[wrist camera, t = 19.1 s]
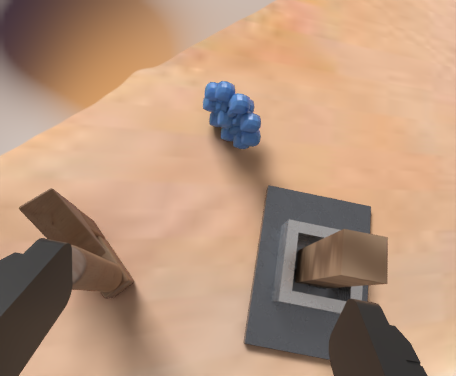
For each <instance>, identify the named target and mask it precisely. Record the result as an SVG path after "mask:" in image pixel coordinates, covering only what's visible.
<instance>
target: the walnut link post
mask: <svg viewBox="0 0 456 376" xmlns="http://www.w3.org/2000/svg"><path fill="white" fill-rule="evenodd" d="M387 258H388V237H384V236H378V235H373V234H368V233H363V232H358V231H353V230H348V229H342V230H340V231H338V232H336V233H334V234H332V235H330V236H328V237H325V238H323V239H321V240H319V241H317V242H315V243H313V244H311V245H308V246H306V247H304V248H302V249H300V250H299V251H298V261H297V271H296V281H295V283H301V284H306V285H311V286H317V287H322V288H339V287H352V286H364V285H377V284H387Z"/></svg>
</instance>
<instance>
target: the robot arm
mask: <svg viewBox="0 0 456 376" xmlns="http://www.w3.org/2000/svg"><path fill="white" fill-rule="evenodd" d="M72 285H73V279H72V246H71V244H69V243H65V242H60V241H55V240H50V239H45V238H41V239H39V240H37V241H36V242H35V243H34V244H33V245H32V246H31V247H30V248H29V249H28V250H27V251H26V252H25V253H24V254H20V253H13V254H11V255H9V256H7V257H5V258H3V259H1V260H0V376H19V374H20V373H21V371H22V370H23V368H24V367H25V366H26V364H27V363H28V361H29V360H30V358H31V357H32V355H33V354H34V352H35V351H36V349H37V348H38V346H39V345H40V343H41V342H42V340H43V339H44V337H45V336H46V335H47V333H48V332H49V330H50V329H51V327H52V326H53V324H54V323H55V321H56V320H57V318H58V317H59V315H60V314H61V312H62V311H63V309H64V308H65V306H66V305H67V303H68V300H69V298H70V295H71V291H72ZM329 358H330V362H331V366H332V370H333V374H334V376H427V374H426V372H425V370H424V368H423V366H420V361H419V359H418V357H417V355H416V353H415V351H414V349H413V347H412V345H411V343H410V342H409V341H408V340H407V339H406V338H405V337H404V336H403V334H402V333H401V332H400V331H399V330H398V329H397V328H396V327H395V326H392V325H389V323H388V321H387V319H386V317H385V315H384V313H383V311H382V309H381V307H380V306H379V305H378V304H376V303H372V302H367V301H362V300H357V299H349V300H348V301H347V302H346V304H345V306H344V308H343V310H342V312H341V314H340V316H339V318H338V320H337V322H336V324H335V327H334V329H333V331H332V333H331V335H330V339H329Z"/></svg>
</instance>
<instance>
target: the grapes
mask: <svg viewBox="0 0 456 376" xmlns="http://www.w3.org/2000/svg"><path fill="white" fill-rule="evenodd" d="M203 109H205V110H207V111H210V112H211V114H210V119H209V123H210V125H212V126H215V127H222V129H221V139H223V140H226V141H233V146H234V147H236V148H239V149H246V148H249V146H251V147H253V146H256V145H258V144H259V142H260V138H261V135H260V131H259V128H260V126H261V119H260V116H258V115H257V114H254V113H253V111H254V101H252V100H250V98H249V97H248V96H246V95H243V94H235V86H234V85H233V84H231V83H229V82H226V81H221V82H219V83H216V82H210V83H209V84H207V86H206V88H205V98H204V100H203Z"/></svg>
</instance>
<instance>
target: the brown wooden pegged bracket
mask: <svg viewBox="0 0 456 376" xmlns="http://www.w3.org/2000/svg"><path fill="white" fill-rule="evenodd" d="M19 209H20V211H21V212H22V213H23V214H24V215H25V216H26V217H27V218H28V219H29V220H30V221H31V222H32V223H33V224H34V225H35V226H36V227H37V228H38V229H39V230H40V232H41V233H42V234H43V235H44V236H45V237H46V238H47V239H50V240H55V241H60V242H65V243H69V244H71V246H72V279H73V285H72V289H73V290H86V291H99V292H101V294H102V295H103V297H104V298H113V297H115V296H116V295H117V294H119V293H120V292H121V291H123V290H124V289H126V288H127V287H128V286H130V285H131V284H132V283H133V282H134V280H133V279H132V277H131V276H130V274H129V273H128V271H127V270H126V268H125V267H124V265H123V264H122V262H121V261H120V259H119V258H118V256H117V255H116V253H115V252H114V250H113V249H112V247H111V246H110V244H109V243H108V242H107V241H106V240H105V237H104V236H103V234H102V233H101V231H100V230H99V228H98V227H97V225H96V224H95V222H94V221H93V220H92V219H91V218H89V217H88V216H87V215H85V214H84V213H83V212H81V211H80V210H79V209H77V207H76V206H74V205H73V204H72V203H71V202H69V201H68V200H67V199H65V198H64V197H63V196H61V195H60V194H59V193H57V192H56V191H55V190H54V189H52V188H51V189H49V190H47V191H45V192H44V193H42V194H40V195H39V196H37V197H35V198H34V199H32V200H30V201H29V202H27V203H25V204H24V205H22V206H20V207H19Z"/></svg>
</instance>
